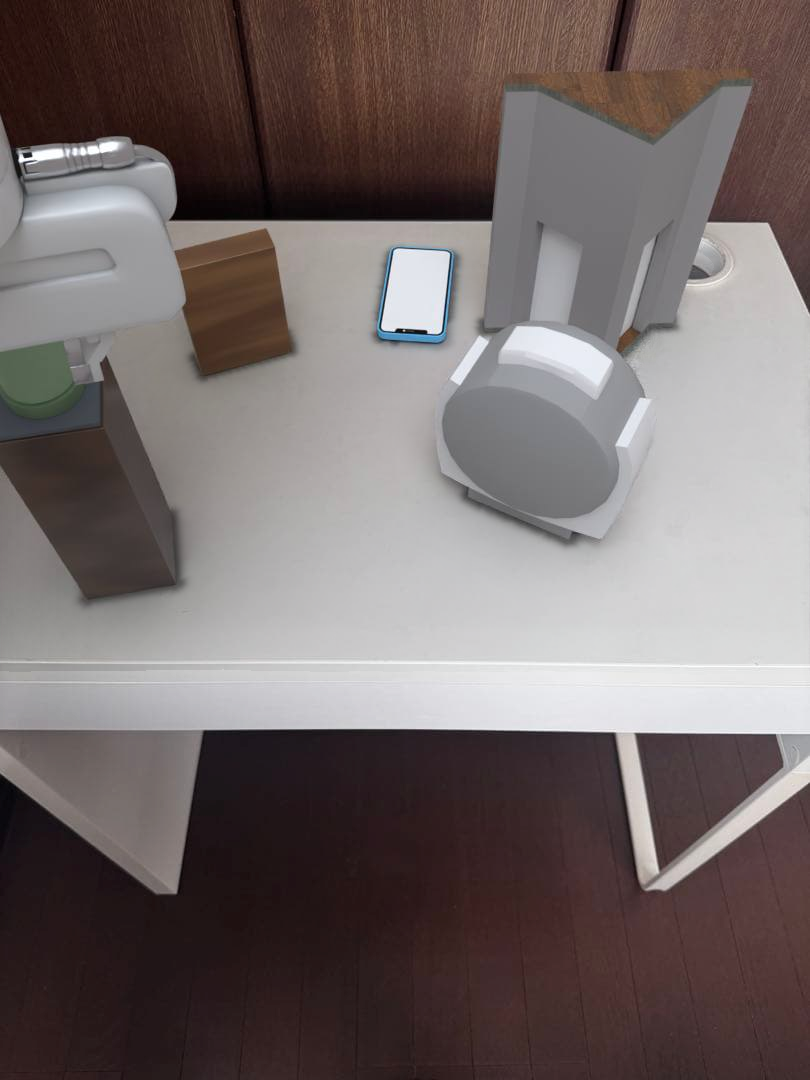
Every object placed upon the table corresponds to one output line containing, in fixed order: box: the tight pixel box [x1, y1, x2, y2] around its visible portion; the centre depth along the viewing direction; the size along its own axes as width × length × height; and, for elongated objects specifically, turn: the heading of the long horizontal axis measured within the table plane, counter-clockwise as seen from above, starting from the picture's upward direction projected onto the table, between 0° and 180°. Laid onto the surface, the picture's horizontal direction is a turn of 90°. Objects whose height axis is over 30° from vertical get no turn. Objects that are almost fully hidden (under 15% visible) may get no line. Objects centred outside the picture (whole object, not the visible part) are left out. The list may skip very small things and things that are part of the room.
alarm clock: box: [434, 321, 657, 540], centre depth 76 cm, size 18×8×20 cm, turn 62°
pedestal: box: [0, 354, 177, 600], centre depth 72 cm, size 8×8×22 cm
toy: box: [0, 340, 85, 419], centre depth 57 cm, size 13×6×13 cm
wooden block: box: [174, 227, 293, 377], centre depth 89 cm, size 3×10×14 cm, turn 111°
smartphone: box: [376, 245, 455, 343], centre depth 99 cm, size 8×1×15 cm
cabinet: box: [482, 67, 756, 356], centre depth 83 cm, size 21×10×28 cm, turn 92°
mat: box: [0, 362, 101, 441], centre depth 62 cm, size 8×8×1 cm
